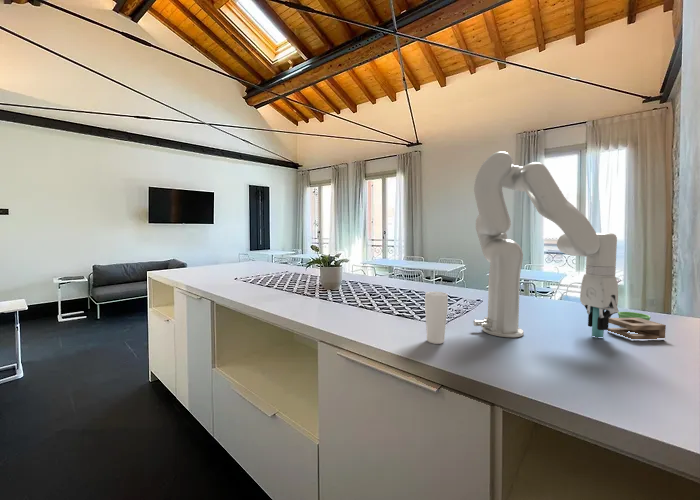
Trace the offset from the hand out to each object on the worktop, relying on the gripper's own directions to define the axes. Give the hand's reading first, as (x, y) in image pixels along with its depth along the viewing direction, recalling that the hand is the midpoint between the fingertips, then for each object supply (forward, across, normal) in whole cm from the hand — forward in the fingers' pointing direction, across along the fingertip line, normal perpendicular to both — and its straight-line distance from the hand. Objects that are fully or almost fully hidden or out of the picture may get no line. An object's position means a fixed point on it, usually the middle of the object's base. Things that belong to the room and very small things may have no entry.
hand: (597, 327), depth 104 cm
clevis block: (+3, 0, +12) cm, 12 cm away
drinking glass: (+3, +1, -54) cm, 54 cm away
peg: (+3, 0, 0) cm, 3 cm away
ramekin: (+4, -12, +24) cm, 27 cm away
